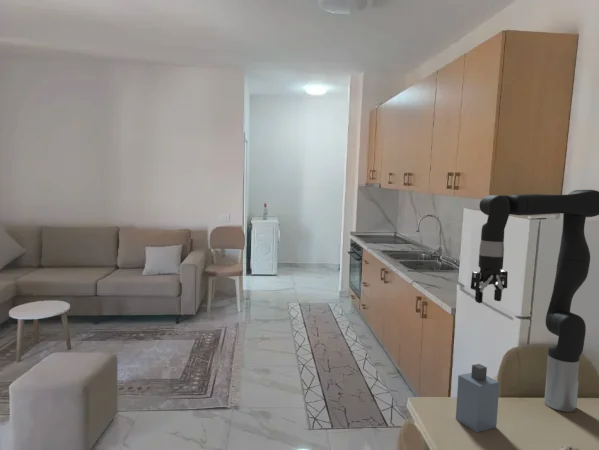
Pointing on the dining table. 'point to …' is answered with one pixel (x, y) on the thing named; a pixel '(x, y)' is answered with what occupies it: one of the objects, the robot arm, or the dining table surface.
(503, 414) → the dining table surface
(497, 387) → the cover
